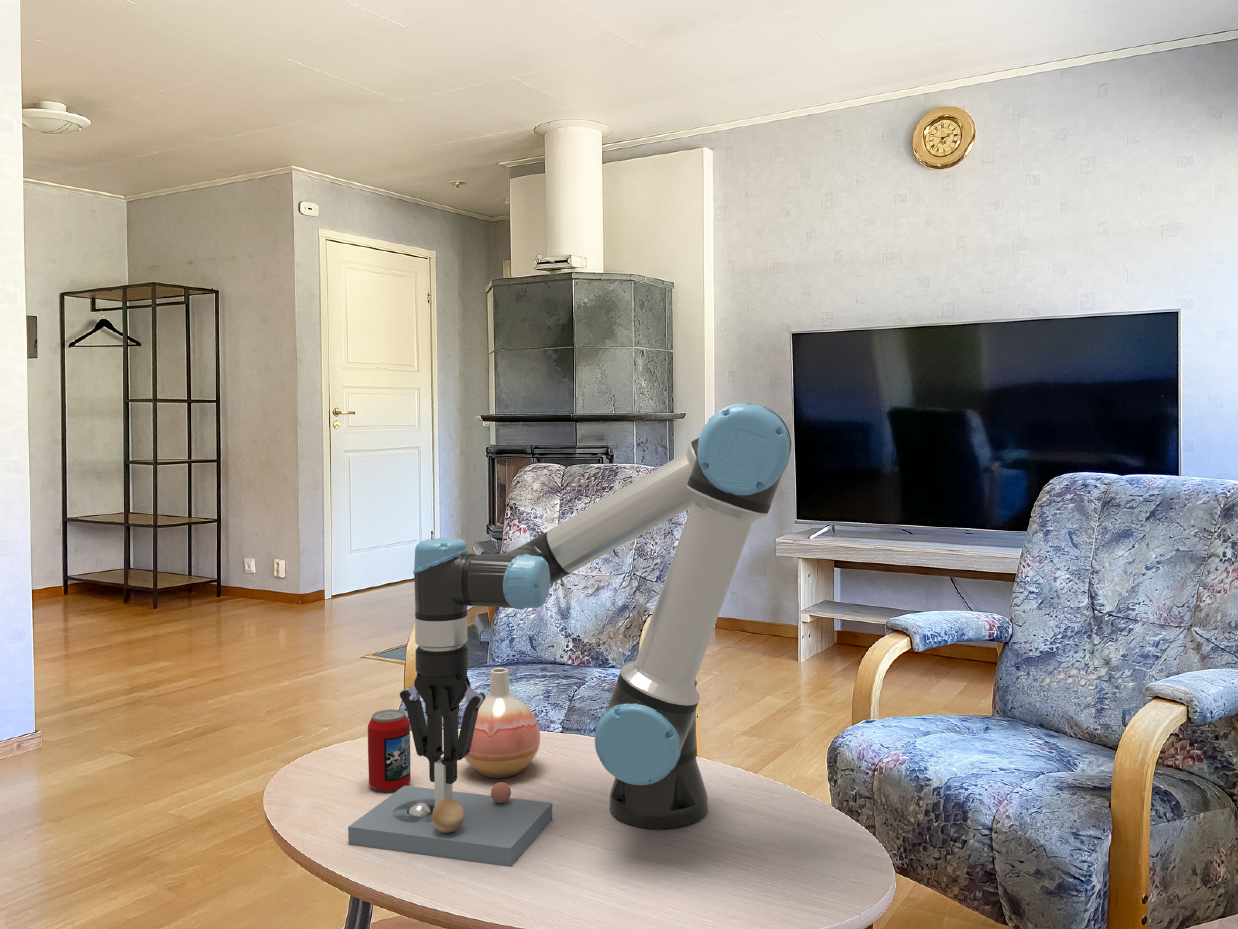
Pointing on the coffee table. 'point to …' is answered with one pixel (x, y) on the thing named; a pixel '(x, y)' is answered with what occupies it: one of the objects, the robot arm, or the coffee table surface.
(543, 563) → the robot arm
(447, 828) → the wooden ball
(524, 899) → the coffee table surface
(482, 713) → the vase
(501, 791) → the rubber ball
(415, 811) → the steel ball
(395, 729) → the beverage can
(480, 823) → the plate
